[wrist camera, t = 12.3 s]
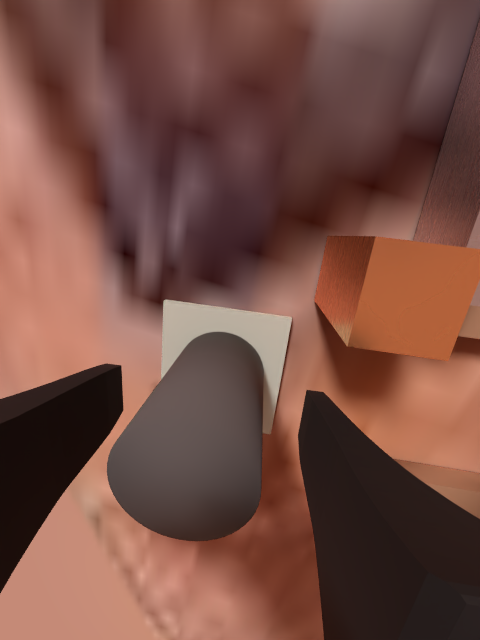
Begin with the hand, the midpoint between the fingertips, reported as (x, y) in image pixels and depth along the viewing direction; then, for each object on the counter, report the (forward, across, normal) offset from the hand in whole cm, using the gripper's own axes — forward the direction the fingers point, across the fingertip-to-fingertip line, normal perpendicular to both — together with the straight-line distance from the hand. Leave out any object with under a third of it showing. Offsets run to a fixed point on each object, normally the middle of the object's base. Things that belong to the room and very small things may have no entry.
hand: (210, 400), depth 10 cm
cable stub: (+2, 0, 0) cm, 2 cm away
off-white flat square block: (+3, 0, 0) cm, 3 cm away
